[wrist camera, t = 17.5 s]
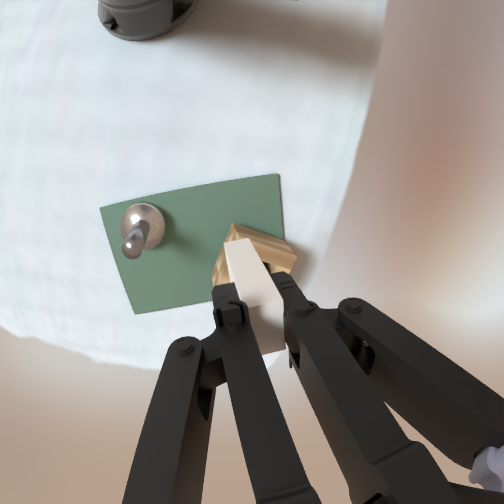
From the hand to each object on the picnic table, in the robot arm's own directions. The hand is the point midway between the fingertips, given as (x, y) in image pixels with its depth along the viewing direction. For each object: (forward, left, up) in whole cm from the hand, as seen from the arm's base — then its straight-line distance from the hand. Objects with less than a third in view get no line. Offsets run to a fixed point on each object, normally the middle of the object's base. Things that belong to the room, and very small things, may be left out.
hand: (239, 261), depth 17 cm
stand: (+4, -11, -26) cm, 29 cm away
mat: (+10, -3, -26) cm, 28 cm away
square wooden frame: (+12, +4, -24) cm, 27 cm away
